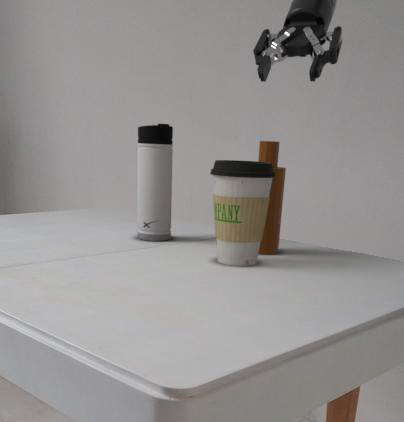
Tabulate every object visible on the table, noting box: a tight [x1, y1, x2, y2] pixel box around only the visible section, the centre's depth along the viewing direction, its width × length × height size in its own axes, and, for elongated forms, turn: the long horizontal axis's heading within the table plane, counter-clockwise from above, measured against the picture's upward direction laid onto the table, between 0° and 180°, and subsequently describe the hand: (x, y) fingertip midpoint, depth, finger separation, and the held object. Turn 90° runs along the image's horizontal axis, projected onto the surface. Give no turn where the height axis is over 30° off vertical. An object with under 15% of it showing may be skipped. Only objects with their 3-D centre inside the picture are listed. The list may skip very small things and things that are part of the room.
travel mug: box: [137, 123, 174, 242], centre depth 103 cm, size 6×7×20 cm
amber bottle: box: [257, 140, 287, 255], centre depth 96 cm, size 6×6×18 cm
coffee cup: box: [209, 159, 275, 267], centre depth 87 cm, size 10×10×15 cm
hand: (286, 77), depth 93 cm, fingers open, 8 cm apart
